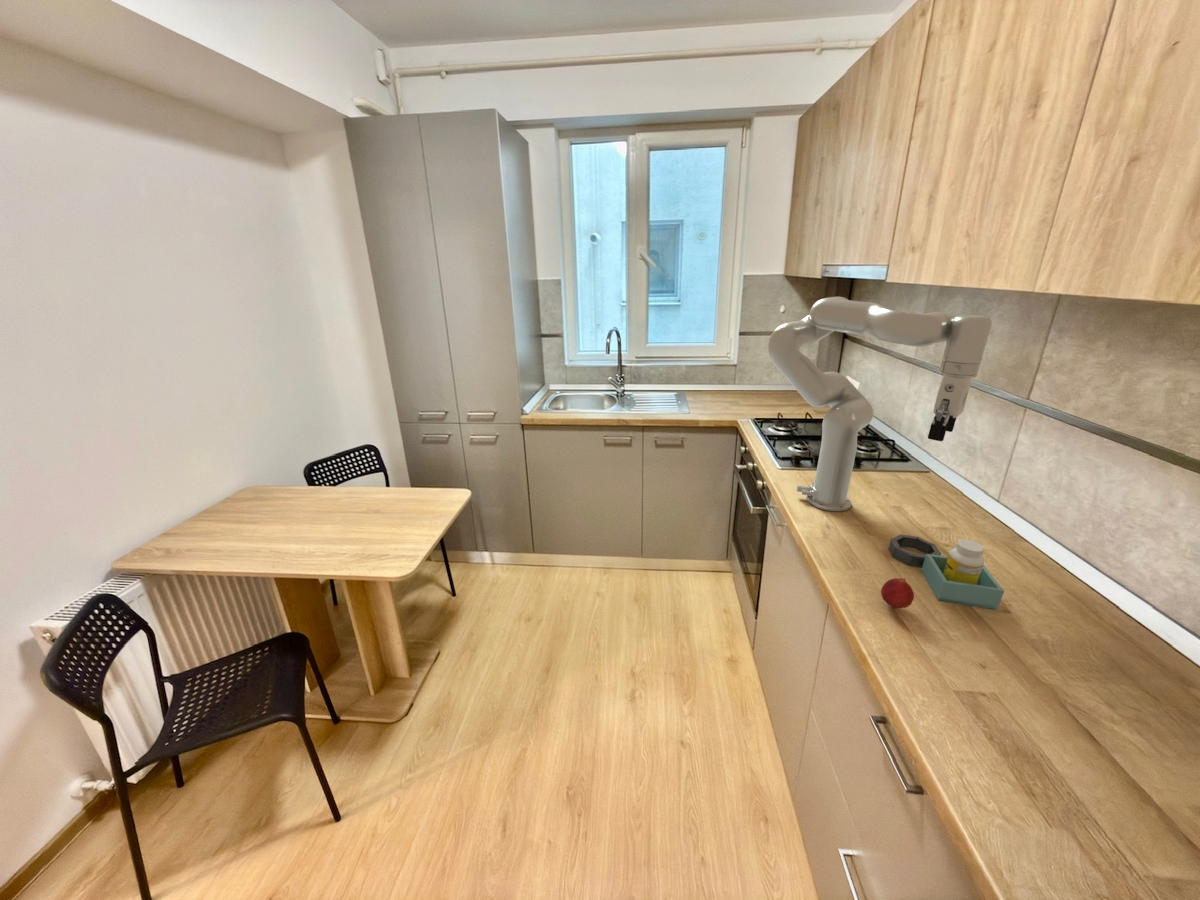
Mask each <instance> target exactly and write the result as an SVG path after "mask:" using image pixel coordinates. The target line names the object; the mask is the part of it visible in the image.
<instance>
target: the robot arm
mask: <svg viewBox="0 0 1200 900" xmlns="http://www.w3.org/2000/svg"><path fill="white" fill-rule="evenodd" d="M992 325H993V320H992V318H991V317H989V316H986V315H979V314H954V313H949V312H944V311H932V312H928V313H914V312H907V311H906V312H905V311H898V310H892V309H889V308H885V307H883V306H882V305H881V304H879V303H878V302H877V303H876V302H871V301H870V302H868V301H861V300H860V301H858V300H849V299H848V298H847V297H844V296H843V297H842V296H829V297H825V298H821V299H819V300H817V301H816V302H815V303H814V304H813V305H812V307H811V308H810V311H809V315H807V316H805V317H804V318H802V319H801V320H800V319H799V320H795V321H789V322H784V323H783V324H781V325H779V326H778V327H776V328H775V329H774V330H773V331H772V333H771V335H770V337H769V341H768V345H767V347H768V348H767V349H768V351H767V352H768V356H769V358H770V361H771V362H772V364H773V365H774V366H775V368H776V369H777V370H778V371H779V373H781V374H782V375H783V377H785V378H786V380H787V381H788V382H789V383H790V384H791V386H792V387H793V388H794V389H795V391H797V393H798V394H799V395H800V396H801V397H802V398H803V400H804V401H805V402H806V403H807V404H808V405H810V406H811V407H813V408H823V407H826V406H829V408H830V409H828V411H826V413H825V415H824V416H823V420H822V425H821V431H822V432H821V444H820V449H819V455H818V461H817V466H816V472H815V477H814V482H812V483H811V484H810V485H807V486H805V485H798V484H797V486H796V492H800V493H801V495H803V496H806V497H805V499H806V501H807V502H808V503H809V504H810V505H812V506H813V507H816V508H818V509H821V510H824V511H830V512H844V511H847V510H849V509H850V508H851V506H852V501H851V499H850V498H849V497H848V493H849V488H850V483H851V478H852V474H853V469H854V464H855V458H856V454H857V449H858V434H859V431H861V430H862V429H864V428H866V427H867V426H868V425H869V424H870V423H871V422H872V420H873V418H874V409H873V406H872V404H871V403H870V402H869V401H868V399H867V398H866V397H865V396H864V395H863V393H861V391H859V390H858V389H857V387H855V386H854V384H853V383H852V382H851V381H850V380H849V379H848V377H846V376H844V375H843V374H842V373H840V372H836V371H825V372H823V371H822V370H821V369H820V368H819V367H817V366H816V364H815V363H814V362H813V361H812V360H811V358H809V357H808V356H806V355H804V354H803V353H802V352H801V351H800V350H801V349H806V348H808V347H810V346H812V345H814V344H816V343H817V342H819V341H821V340H822V339H824V338H825V337H827V336H829V335H830V334H832V333H834V332H838V333H839V332H840V333H845V334H851V335H856V336H857V335H858V336H863V337H866V338H870V339H873V340H874V339H875V340H878V341H883V342H887V343H892V344H899V345H904V346H910V347H917V348H918V347H919V348H921V347H922V348H923V347H929V346H931V345H933V344H934V345H935V344H938V343H946V344H945V347H944V351H943V355H942V359H941V362H940V365H939V366H940V367H939V370H938V374H940V375H942V378H941V381H940V385H939V388H938V390H937V395H936V398H935V402H934V407H933V412H932V413H933V414H934V417H933V420H932V422H931V424H930V427H929V431H928V435H927V439H929V440H931V441H937V442H943V441H944V439H945V436H946V432H949V433H951V432H953V430H954V427H955V424H956V421H957V417H959V416H960V415H961V414H962V413H963V412H964V410H965V408H966V403H967V398H968V395H969V391H970V388H971V383H972V379H973V378H976V377H977V376H978V372H979V371H980V370H979V369H980V366H981V362H982V359H983V356H984V352H985V348H986V345H987V343H988V340H989V339H988V338H989V336H990V331H991V329H992Z"/></svg>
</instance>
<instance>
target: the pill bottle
mask: <svg viewBox="0 0 1200 900" xmlns="http://www.w3.org/2000/svg"><path fill="white" fill-rule="evenodd" d="M984 551H985V548H984V546H983V545H981V544H980V543H979V542H977V541H974V540H969V539H959V540H958V541H957V543H956V545H955V548H952V549H951V550H950V551H949V553H948V556H947V557H948V559H947V563H946V566H945V569H944V572H943V575H944V577H945V578H946V580H947V581H953V582H960V583H967V584H974V585H977V582H978V579H979V576H980V573H981V571H982V568H983V565H984V564H985V559H984V557H983V554H984ZM984 566H985V565H984Z"/></svg>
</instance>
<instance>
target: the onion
mask: <svg viewBox="0 0 1200 900" xmlns="http://www.w3.org/2000/svg"><path fill="white" fill-rule="evenodd" d="M880 593H881V597H882V599H883V601H884V602H885V603H886V604H887V605H888V606H889V607H891V609H894V610H897V609H905V608H908V607H910V605H912V603H913V601H914V599H915V594H914V591H913V588H912V586H911V585H910V584H909V583H908V582H907V580H906V577H904V576H901V577H897V578H891V579H888V580H886V581H885V583H884V584H883V585H882V587H881V591H880Z"/></svg>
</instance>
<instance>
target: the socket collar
mask: <svg viewBox="0 0 1200 900" xmlns="http://www.w3.org/2000/svg"><path fill="white" fill-rule="evenodd" d="M905 548H906V549H905ZM907 549H914V550H917V551H918V552H921V553H923V554H921V553H919V554H918V553H913V552H911V551H909V550H907ZM887 550H888V551H889V553H890V555H891V558H893V559H895V560H897V561H898V562H900V563H902V564H904V565H906V566H908V567H912V568H920V569H922V567H923V563H924V560H925V557H926V554H932V555H939V556H942V552H941V551H940V550H939V548H938V547H937V545H936V544H935V543H933V542H931V541H929V540H926V539H924V538H922V537H919V536H915V535H909V534H902V533H901V534H898V535H896V536H894V537H891V538H890V541H889V545H888V549H887Z"/></svg>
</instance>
